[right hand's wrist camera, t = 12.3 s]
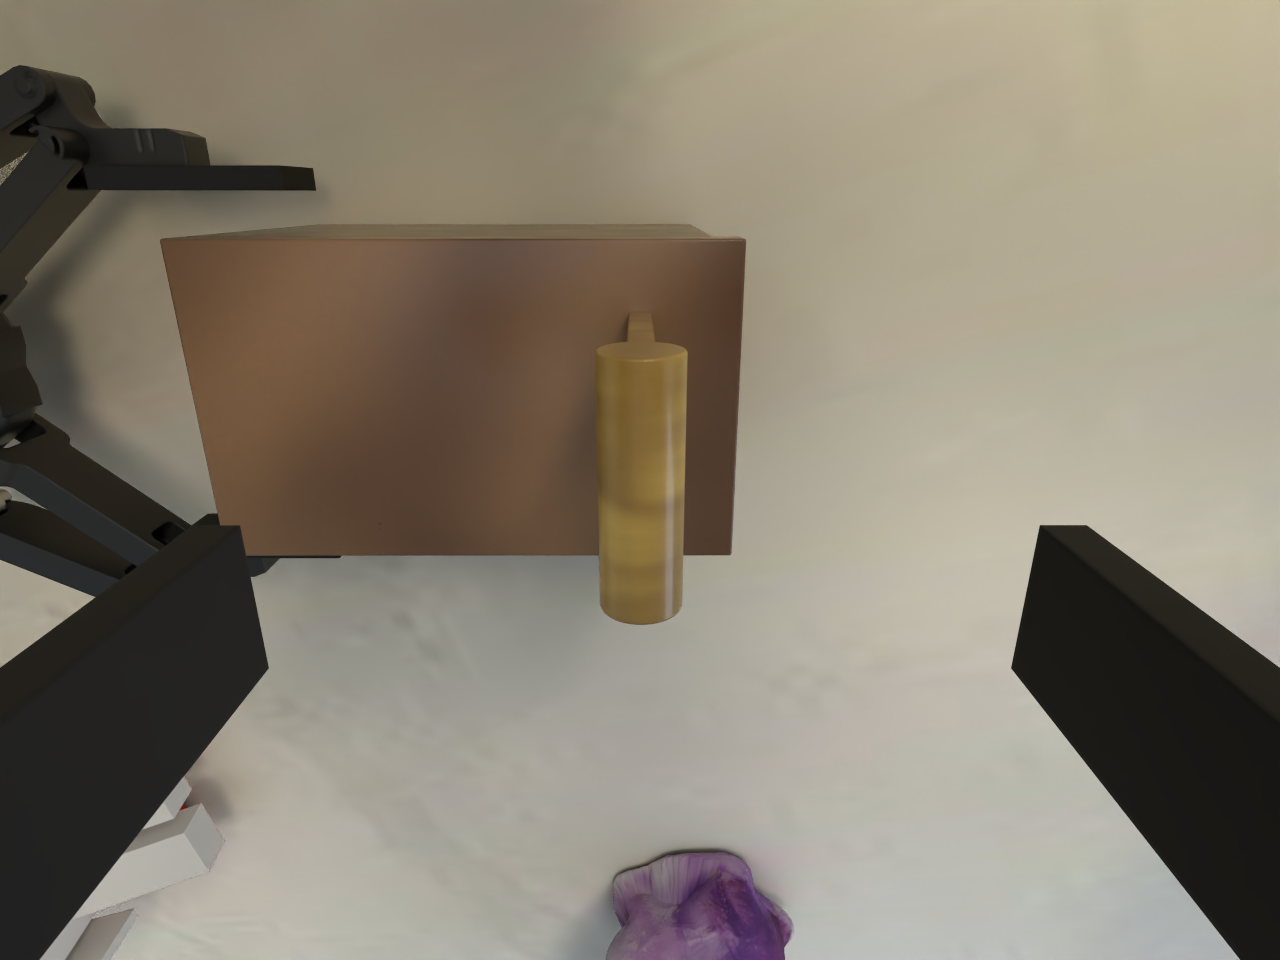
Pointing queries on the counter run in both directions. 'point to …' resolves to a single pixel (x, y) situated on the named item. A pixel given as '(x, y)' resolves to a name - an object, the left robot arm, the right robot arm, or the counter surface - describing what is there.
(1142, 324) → the counter surface
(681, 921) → the figurine
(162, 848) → the toy
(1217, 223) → the counter surface
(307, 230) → the chest
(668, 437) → the lid
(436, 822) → the counter surface
